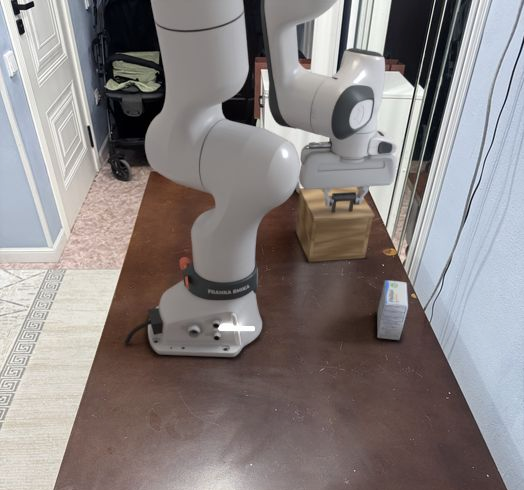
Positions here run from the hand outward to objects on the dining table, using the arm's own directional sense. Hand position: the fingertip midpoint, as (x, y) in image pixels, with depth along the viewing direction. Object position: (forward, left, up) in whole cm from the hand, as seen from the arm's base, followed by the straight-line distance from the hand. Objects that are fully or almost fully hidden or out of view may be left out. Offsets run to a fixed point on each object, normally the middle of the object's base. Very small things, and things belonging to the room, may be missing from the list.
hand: (342, 204), depth 109 cm
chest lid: (0, +5, -2) cm, 6 cm away
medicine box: (+3, -27, -14) cm, 30 cm away
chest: (0, +5, -13) cm, 14 cm away
